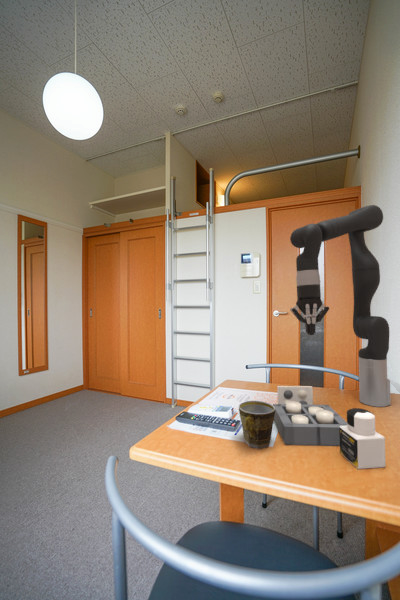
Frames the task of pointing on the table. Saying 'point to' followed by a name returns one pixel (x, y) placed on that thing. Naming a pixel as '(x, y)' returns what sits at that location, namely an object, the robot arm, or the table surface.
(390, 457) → the table surface
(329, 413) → the button
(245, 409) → the ceramic cup
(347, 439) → the medicine bottle
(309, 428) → the board
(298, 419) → the button
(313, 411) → the button
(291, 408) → the button
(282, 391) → the card
